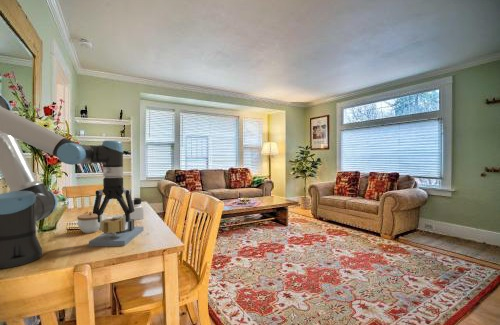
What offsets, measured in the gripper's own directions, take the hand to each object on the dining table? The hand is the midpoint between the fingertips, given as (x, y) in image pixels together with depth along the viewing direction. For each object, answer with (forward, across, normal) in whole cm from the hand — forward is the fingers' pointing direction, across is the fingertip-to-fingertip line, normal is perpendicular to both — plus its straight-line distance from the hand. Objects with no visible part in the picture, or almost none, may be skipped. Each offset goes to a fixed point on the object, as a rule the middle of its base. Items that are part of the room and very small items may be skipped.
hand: (114, 229), depth 110 cm
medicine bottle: (+5, -6, +41) cm, 42 cm away
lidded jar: (+5, -18, +16) cm, 25 cm away
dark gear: (+3, 0, +10) cm, 10 cm away
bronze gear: (0, 0, 0) cm, 0 cm away
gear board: (+5, 0, +5) cm, 7 cm away
